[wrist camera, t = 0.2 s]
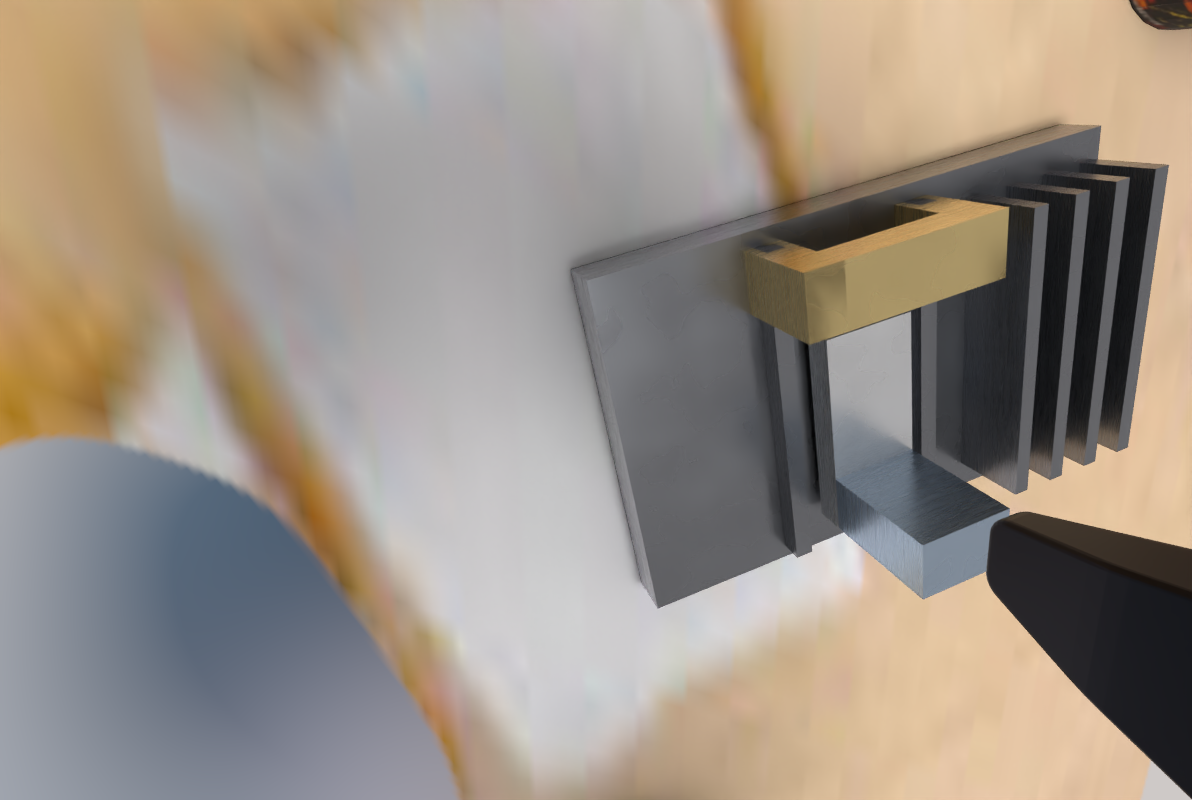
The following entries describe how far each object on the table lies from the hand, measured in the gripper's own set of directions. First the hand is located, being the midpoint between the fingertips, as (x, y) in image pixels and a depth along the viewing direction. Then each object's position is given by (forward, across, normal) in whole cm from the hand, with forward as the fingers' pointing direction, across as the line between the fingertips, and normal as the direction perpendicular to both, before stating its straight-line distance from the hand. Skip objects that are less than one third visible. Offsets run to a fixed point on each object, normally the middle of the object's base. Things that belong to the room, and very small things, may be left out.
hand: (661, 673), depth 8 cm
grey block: (+13, -12, +6) cm, 18 cm away
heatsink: (+14, -13, +4) cm, 20 cm away
